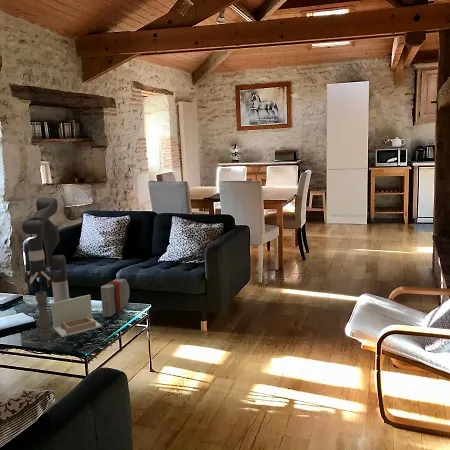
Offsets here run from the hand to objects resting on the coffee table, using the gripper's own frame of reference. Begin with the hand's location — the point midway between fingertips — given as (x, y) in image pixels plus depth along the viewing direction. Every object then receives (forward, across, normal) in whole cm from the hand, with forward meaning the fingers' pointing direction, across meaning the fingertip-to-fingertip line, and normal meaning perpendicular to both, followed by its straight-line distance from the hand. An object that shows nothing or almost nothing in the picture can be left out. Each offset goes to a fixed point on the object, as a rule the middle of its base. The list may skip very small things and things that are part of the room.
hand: (40, 288), depth 267 cm
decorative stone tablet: (+28, -46, -14) cm, 56 cm away
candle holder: (+28, 0, 0) cm, 28 cm away
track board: (+28, -18, -3) cm, 33 cm away
